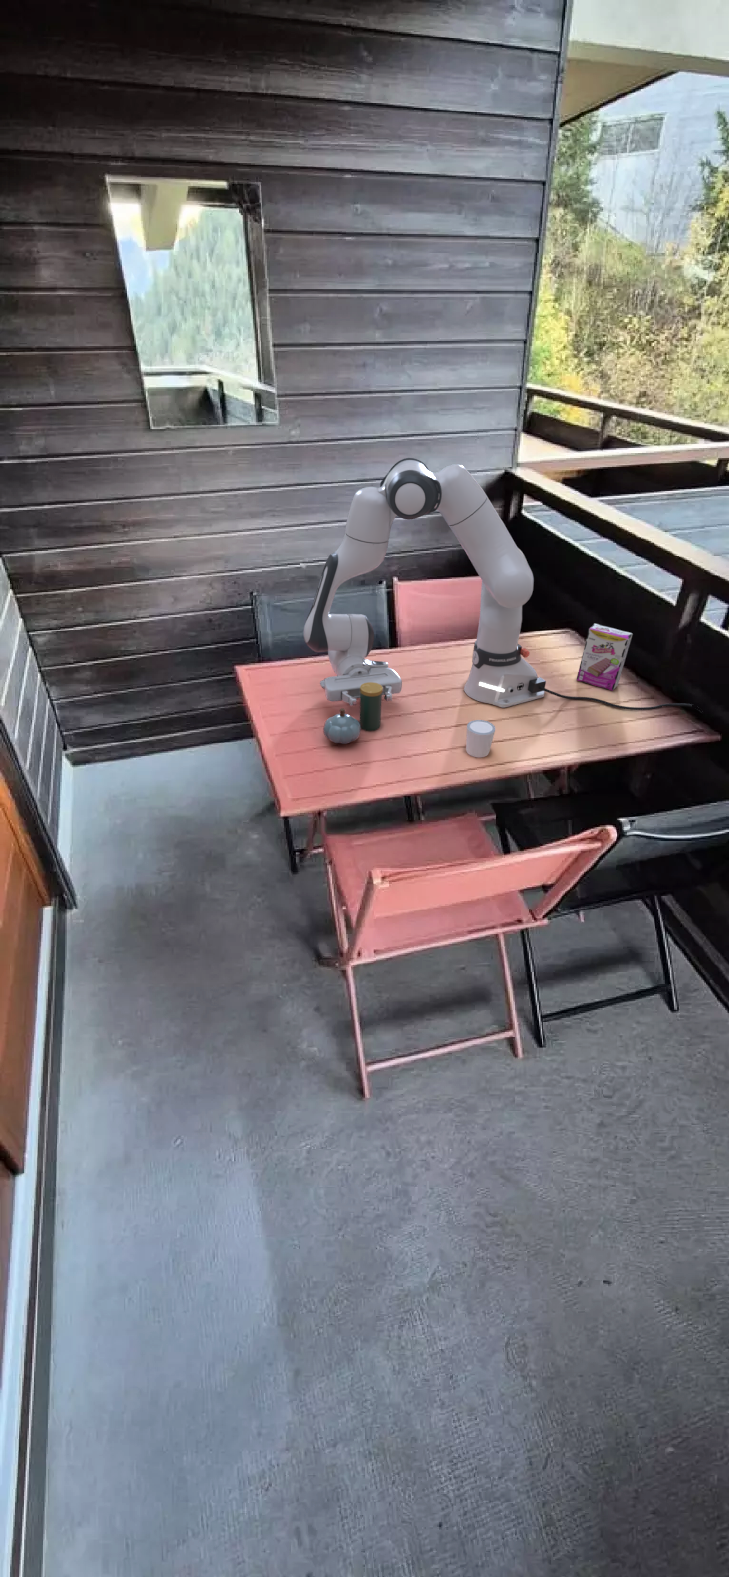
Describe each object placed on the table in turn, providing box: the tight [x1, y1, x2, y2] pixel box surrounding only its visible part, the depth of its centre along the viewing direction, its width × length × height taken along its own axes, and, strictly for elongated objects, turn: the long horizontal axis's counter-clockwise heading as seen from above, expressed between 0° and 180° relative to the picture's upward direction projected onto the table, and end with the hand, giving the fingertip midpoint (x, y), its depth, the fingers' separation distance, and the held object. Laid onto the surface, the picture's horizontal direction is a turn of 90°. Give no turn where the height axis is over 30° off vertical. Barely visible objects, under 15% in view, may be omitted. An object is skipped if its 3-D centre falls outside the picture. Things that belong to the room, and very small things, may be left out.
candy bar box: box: [576, 623, 634, 692], centre depth 198 cm, size 11×5×16 cm, turn 58°
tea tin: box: [358, 682, 383, 732], centre depth 177 cm, size 6×6×11 cm
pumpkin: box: [322, 707, 362, 745], centre depth 171 cm, size 9×9×9 cm
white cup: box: [465, 719, 496, 758], centre depth 170 cm, size 7×7×7 cm
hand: (371, 700), depth 176 cm, fingers open, 8 cm apart
